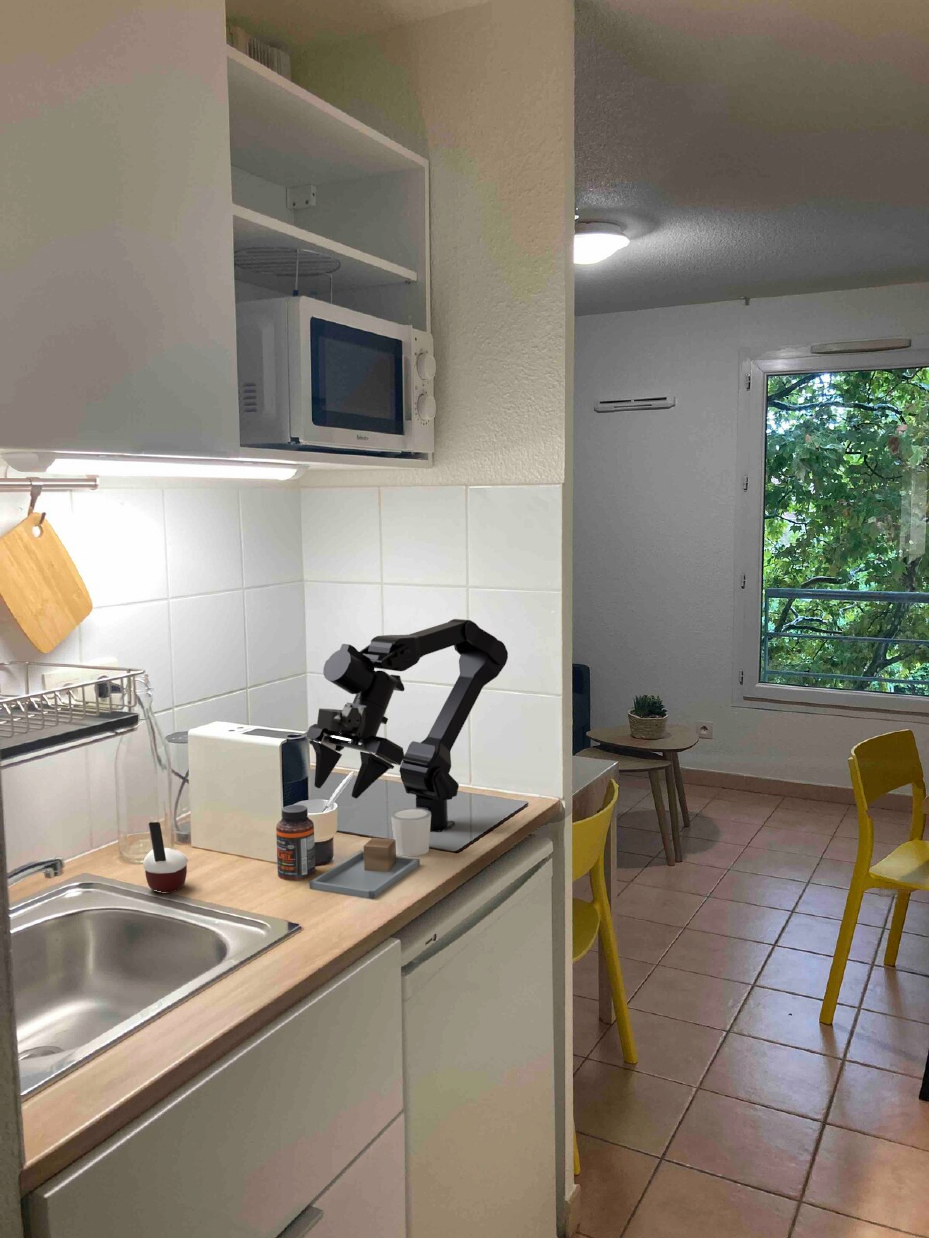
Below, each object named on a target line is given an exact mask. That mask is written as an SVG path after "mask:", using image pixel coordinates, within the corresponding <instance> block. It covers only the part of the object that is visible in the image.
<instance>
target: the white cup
mask: <svg viewBox="0 0 929 1238" xmlns="http://www.w3.org/2000/svg"><path fill="white" fill-rule="evenodd" d="M390 820H391V828H392V836H393V837H392V839H395V840H396V855H397V856H402V857H417V856H423V855H425V854H427V853H428V852H429V851H430V838H431V837H430V836H431V831H430V824H431V812H430V811H428V810H425V809H419V808H416V807H413V808H412V807H411V808H401V809H397V810H395V811H393V812H391V813H390Z"/></svg>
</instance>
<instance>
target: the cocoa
mask: <svg viewBox="0 0 929 1238" xmlns="http://www.w3.org/2000/svg"><path fill="white" fill-rule="evenodd" d="M161 827H162V826H161V823H160V822H158V821H150V822H149V823H148V828H149V835H150V840H151V846H152V849H151V850H150V851H149V852H148V853H147V854H146V855H145V858H143V863H142V868H143V869H144V873H145V878H146V882H147V884H148V887H149V888H150V889H151V890H152V891H153V890H157V891H161V892H170V893H173V891H174V892H176V891H175V890H177V891H178V890H180V888H181V887H183V886H184V884H185V882H186V879H187V872H188V861H189V859H188V858H187V856H186V855H185V854H184V853H183V852H182V851H180V850H177V849H173V848H170V847H165V844H164V839H163V834H162V828H161Z"/></svg>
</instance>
